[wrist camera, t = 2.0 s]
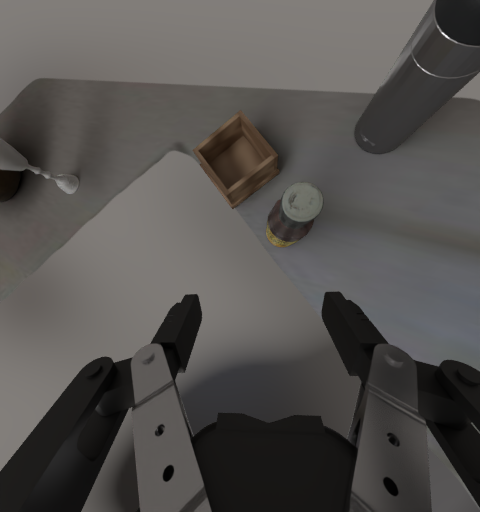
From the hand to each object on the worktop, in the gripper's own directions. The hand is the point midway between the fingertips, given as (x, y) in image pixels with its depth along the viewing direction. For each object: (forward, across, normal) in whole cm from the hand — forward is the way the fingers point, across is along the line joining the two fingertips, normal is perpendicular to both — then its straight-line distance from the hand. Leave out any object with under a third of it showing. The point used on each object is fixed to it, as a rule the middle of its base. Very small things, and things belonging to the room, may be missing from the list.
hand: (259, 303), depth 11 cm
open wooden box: (+34, +3, -8) cm, 35 cm away
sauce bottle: (+27, -6, +5) cm, 28 cm away
